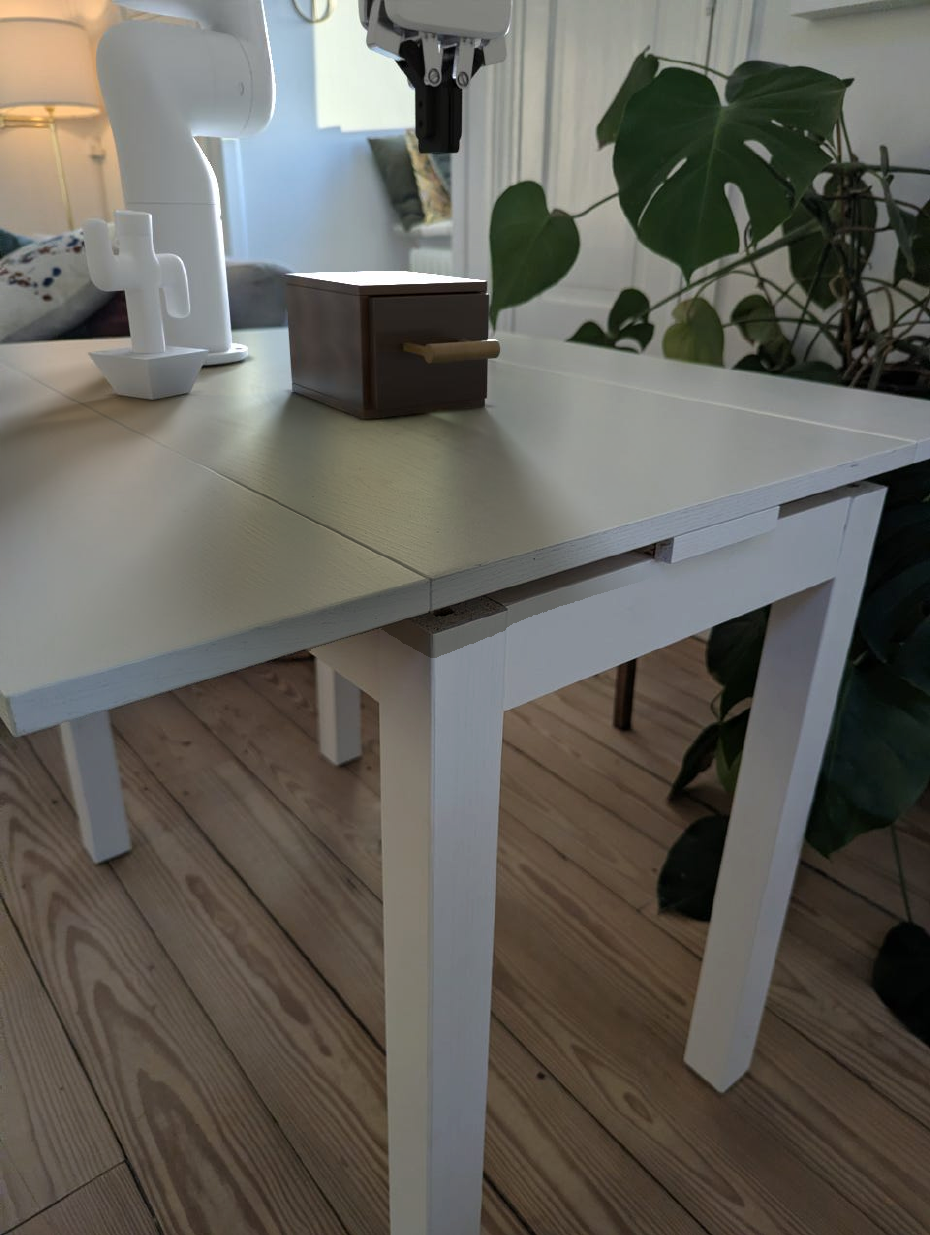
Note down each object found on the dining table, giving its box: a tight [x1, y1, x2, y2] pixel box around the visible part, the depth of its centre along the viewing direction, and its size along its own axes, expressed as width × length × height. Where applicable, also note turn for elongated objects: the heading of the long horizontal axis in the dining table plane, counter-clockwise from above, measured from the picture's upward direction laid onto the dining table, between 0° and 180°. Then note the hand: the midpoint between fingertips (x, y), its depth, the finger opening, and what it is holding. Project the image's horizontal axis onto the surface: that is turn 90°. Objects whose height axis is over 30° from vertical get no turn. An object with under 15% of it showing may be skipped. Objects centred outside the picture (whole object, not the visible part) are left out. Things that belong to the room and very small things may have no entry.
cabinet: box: [284, 270, 488, 421], centre depth 78 cm, size 15×12×10 cm
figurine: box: [81, 209, 209, 401], centre depth 78 cm, size 7×9×15 cm
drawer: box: [367, 293, 501, 410], centre depth 75 cm, size 18×10×8 cm, turn 33°
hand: (438, 152), depth 66 cm, fingers closed
